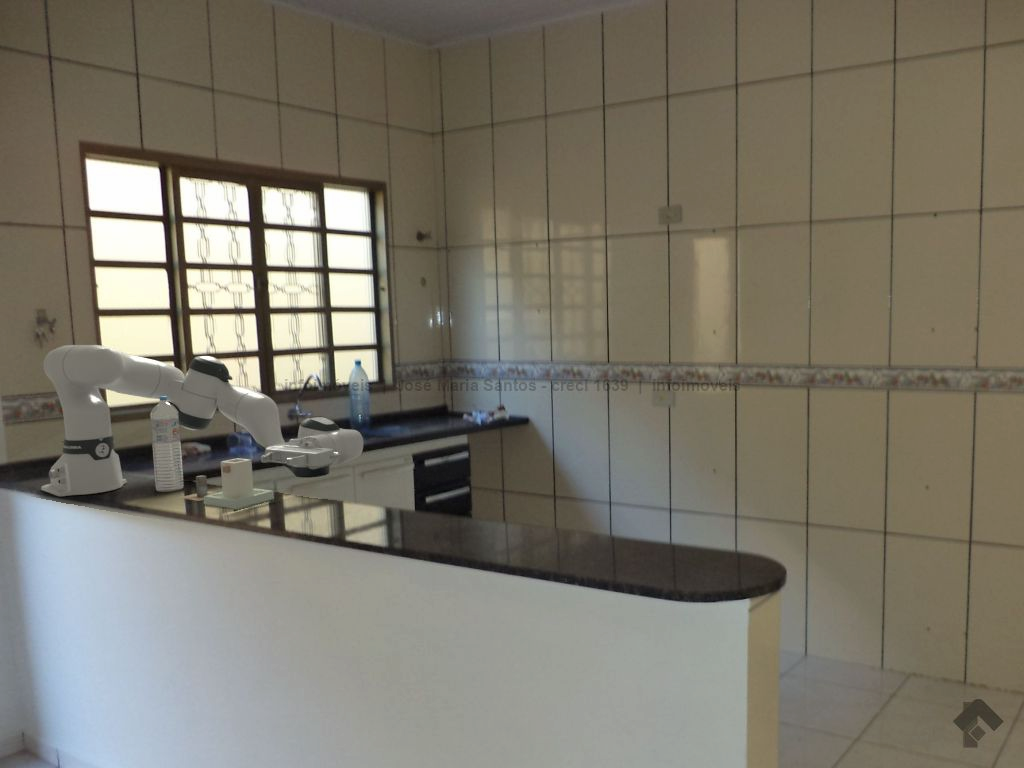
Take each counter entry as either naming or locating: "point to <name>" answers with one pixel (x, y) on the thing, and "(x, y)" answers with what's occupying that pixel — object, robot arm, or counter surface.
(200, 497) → the stand
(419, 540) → the counter surface
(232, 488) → the sleeve
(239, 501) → the tray
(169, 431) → the water bottle
